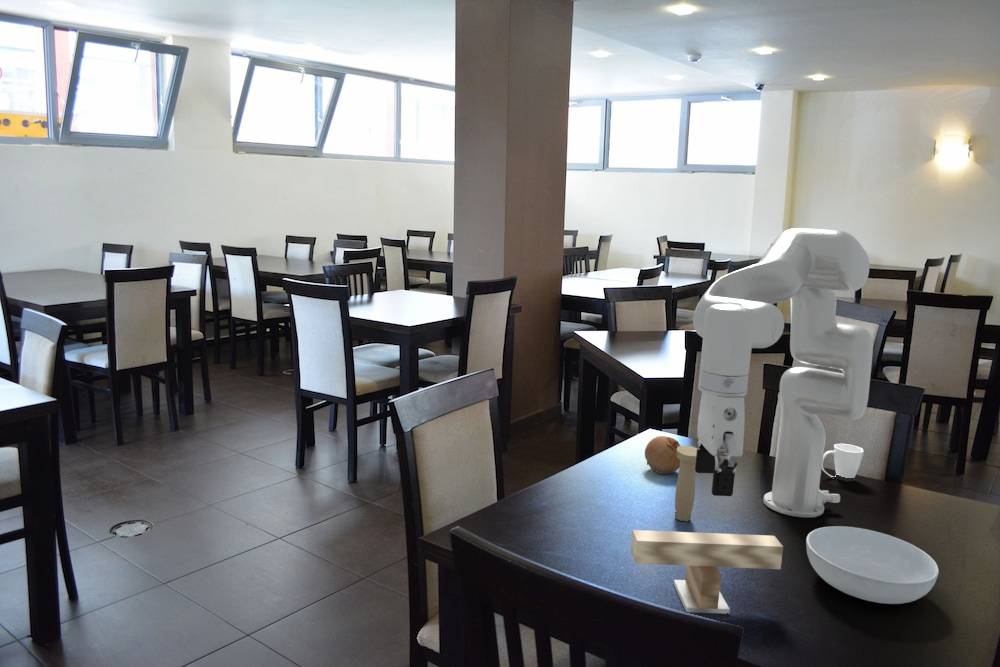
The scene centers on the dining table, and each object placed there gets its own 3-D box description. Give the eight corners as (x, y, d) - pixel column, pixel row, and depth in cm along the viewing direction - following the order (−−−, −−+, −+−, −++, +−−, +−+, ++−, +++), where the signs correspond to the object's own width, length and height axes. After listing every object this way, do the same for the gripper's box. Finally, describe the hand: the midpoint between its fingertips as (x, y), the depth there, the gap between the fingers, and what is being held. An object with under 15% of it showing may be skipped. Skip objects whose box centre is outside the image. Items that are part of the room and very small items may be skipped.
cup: (865, 484, 182) (870, 453, 180) (825, 483, 181) (829, 451, 180) (851, 474, 189) (855, 443, 187) (812, 472, 188) (816, 442, 187)
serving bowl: (873, 630, 118) (879, 591, 117) (776, 569, 137) (781, 534, 136) (961, 607, 126) (967, 570, 125) (859, 552, 145) (863, 519, 144)
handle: (690, 513, 160) (697, 446, 157) (697, 526, 154) (704, 456, 151) (668, 511, 160) (674, 445, 157) (674, 524, 154) (680, 455, 151)
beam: (771, 557, 126) (774, 535, 125) (780, 569, 122) (783, 546, 122) (630, 552, 126) (632, 529, 125) (635, 563, 122) (636, 540, 121)
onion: (676, 486, 183) (696, 456, 178) (643, 477, 181) (662, 447, 176) (666, 460, 191) (684, 431, 186) (633, 452, 189) (652, 422, 184)
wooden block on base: (713, 585, 130) (717, 549, 128) (729, 613, 121) (733, 575, 120) (673, 583, 130) (676, 547, 128) (686, 612, 121) (690, 573, 119)
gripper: (765, 397, 110) (753, 506, 114) (729, 370, 127) (719, 465, 131) (715, 395, 110) (704, 504, 113) (686, 368, 127) (677, 463, 130)
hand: (712, 483), depth 122 cm, fingers open, 9 cm apart
